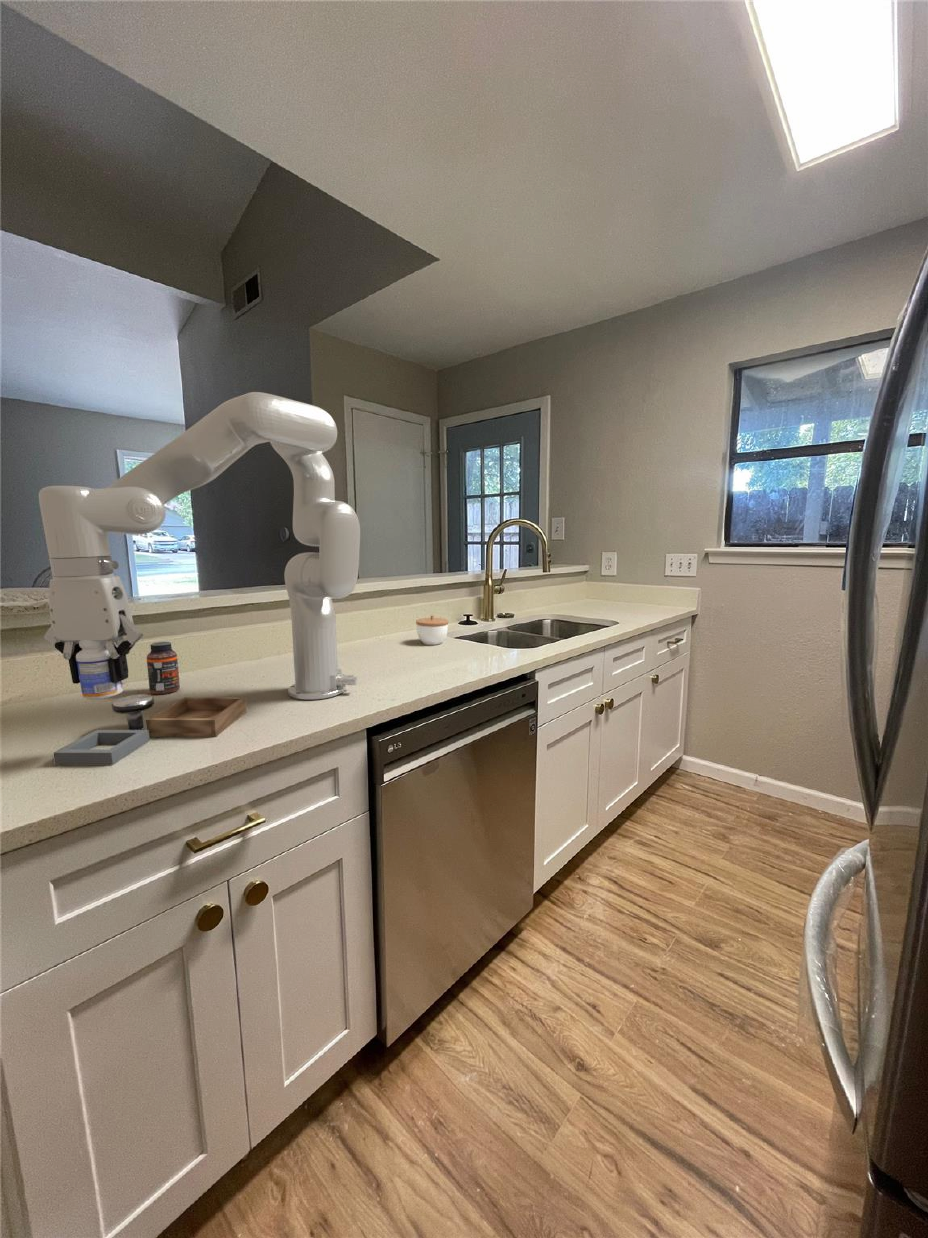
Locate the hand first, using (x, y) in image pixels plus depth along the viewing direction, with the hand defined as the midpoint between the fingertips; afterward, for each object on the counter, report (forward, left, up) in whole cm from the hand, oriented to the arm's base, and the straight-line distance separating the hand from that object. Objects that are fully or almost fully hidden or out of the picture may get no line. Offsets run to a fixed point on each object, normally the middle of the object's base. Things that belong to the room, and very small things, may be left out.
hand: (101, 679), depth 79 cm
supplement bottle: (+10, -31, -12) cm, 35 cm away
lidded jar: (-48, -83, -12) cm, 97 cm away
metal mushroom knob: (+2, -9, -12) cm, 16 cm away
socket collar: (0, +1, -12) cm, 12 cm away
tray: (-9, -12, -12) cm, 19 cm away
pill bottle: (0, 0, -3) cm, 3 cm away
